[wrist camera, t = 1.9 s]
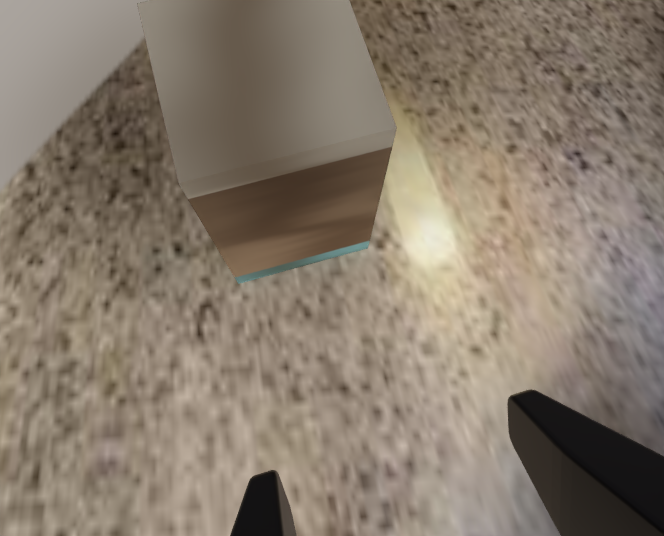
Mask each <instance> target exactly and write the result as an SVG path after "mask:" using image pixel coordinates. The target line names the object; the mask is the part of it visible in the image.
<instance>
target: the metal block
mask: <svg viewBox="0 0 664 536" xmlns="http://www.w3.org/2000/svg"><path fill="white" fill-rule="evenodd" d="M137 5H138V9H139V14H140V18H141V22H142V27H143V31H144V36H145V40H146V44H147V49H148V53H149V57H150V62H151V66H152V70H153V75H154V79H155V83H156V88H157V92H158V96H159V101H160V105H161V109H162V114H163V118H164V122H165V127H166V131H167V135H168V140H169V144H170V148H171V153H172V157H173V161H174V166H175V170H176V174H177V179H178V183H179V185H180V187H181V188H182V190H183V192H184V193H185V195H186V197H187V198H188V200H189V202H190V203H191V205H192V207H193V208H194V210H195V212H196V213H197V215H198V217H199V218H200V220H201V222H202V223H203V225H204V227H205V228H206V230H207V232H208V233H209V235H210V237H211V239H212V240H213V242H214V244H215V245H216V247H217V249H218V250H219V252H220V254H221V255H222V257H223V259H224V260H225V262H226V264H227V265H228V267H229V269H230V270H231V272H232V274H233V275H234V277H235V279H236V280H237V282H238V284H239V283H243V282H246V281H250V280H254V279H257V278H261V277H264V276H268V275H272V274H275V273H279V272H283V271H286V270H290V269H294V268H297V267H301V266H304V265H308V264H312V263H315V262H319V261H323V260H326V259H330V258H334V257H337V256H341V255H344V254H348V253H352V252H355V251H359V250H363V249H366V248H368V245H369V241H370V237H371V233H372V229H373V225H374V220H375V216H376V212H377V208H378V204H379V200H380V195H381V191H382V187H383V183H384V179H385V175H386V171H387V166H388V162H389V158H390V154H391V150H392V146H393V142H394V137H395V133H396V129H397V127H396V124H395V122H394V119H393V116H392V114H391V111H390V108H389V106H388V103H387V100H386V98H385V95H384V92H383V89H382V87H381V84H380V81H379V79H378V76H377V73H376V71H375V68H374V65H373V63H372V60H371V57H370V55H369V52H368V49H367V47H366V44H365V41H364V38H363V36H362V33H361V30H360V28H359V25H358V22H357V20H356V17H355V14H354V12H353V9H352V6H351V4H350V1H349V0H150V1H146V2H141V3H137Z"/></svg>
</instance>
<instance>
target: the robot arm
mask: <svg viewBox="0 0 664 536" xmlns="http://www.w3.org/2000/svg"><path fill="white" fill-rule="evenodd" d="M508 427H509V435H510V439H511V442H512V444H513V446H514V448H515V450H516V452H517V454H518V456H519V458H520V460H521V462H522V463H523V465H524V467H525V469H526V471H527V473H528V475H529V477H530V479H531V481H532V482H533V484H534V486H535V488H536V490H537V492H538V494H539V496H540V498H541V500H542V501H543V503H544V505H545V507H546V509H547V511H548V513H549V515H550V517H551V518H552V520H553V522H554V524H555V526H556V528H557V529H558V531H559V533H560V535H561V536H664V456H662V455H660V454H658V453H656V452H654V451H652V450H651V449H649V448H647V447H645V446H643V445H641V444H639V443H637V442H635V441H633V440H631V439H629V438H627V437H625V436H623V435H621V434H619V433H617V432H616V431H614V430H612V429H610V428H608V427H606V426H604V425H602V424H600V423H598V422H596V421H594V420H592V419H590V418H588V417H586V416H584V415H583V414H581V413H579V412H577V411H575V410H573V409H571V408H569V407H567V406H565V405H563V404H561V403H559V402H557V401H555V400H553V399H551V398H550V397H548V396H546V395H544V394H542V393H540V392H538V391H535V390H526V391H523V392H520V393H517V394H513V395H511V396H510V397H509V399H508ZM230 536H296V531H295V526H294V521H293V517H292V512H291V509H290V505H289V502H288V499H287V496H286V494H285V491H284V488H283V485H282V482H281V480H280V477H279V474H278V472H277V471H275V470H271V471H268V472H264V473H261V474H258V475H255V476H253V477H252V478H251V479H250V481H249V483H248V486H247V489H246V492H245V494H244V497H243V500H242V503H241V506H240V509H239V512H238V515H237V518H236V521H235V523H234V526H233V529H232V532H231V535H230Z"/></svg>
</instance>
